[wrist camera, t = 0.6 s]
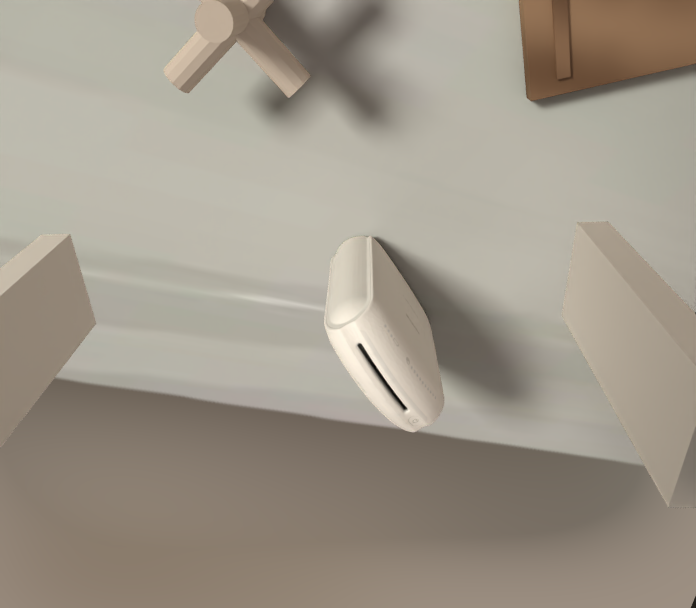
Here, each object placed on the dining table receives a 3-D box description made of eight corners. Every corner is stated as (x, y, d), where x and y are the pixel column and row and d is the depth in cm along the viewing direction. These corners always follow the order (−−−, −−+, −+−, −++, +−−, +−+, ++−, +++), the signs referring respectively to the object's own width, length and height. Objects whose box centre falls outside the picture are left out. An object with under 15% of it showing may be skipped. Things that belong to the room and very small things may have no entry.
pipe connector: (365, 16, 36) (364, 30, 27) (254, 125, 40) (222, 169, 31) (247, -133, 33) (202, -170, 24) (136, 2, 36) (63, 12, 27)
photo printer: (438, 326, 47) (458, 431, 36) (391, 348, 48) (398, 456, 38) (372, 223, 43) (374, 308, 32) (323, 251, 44) (309, 341, 33)
